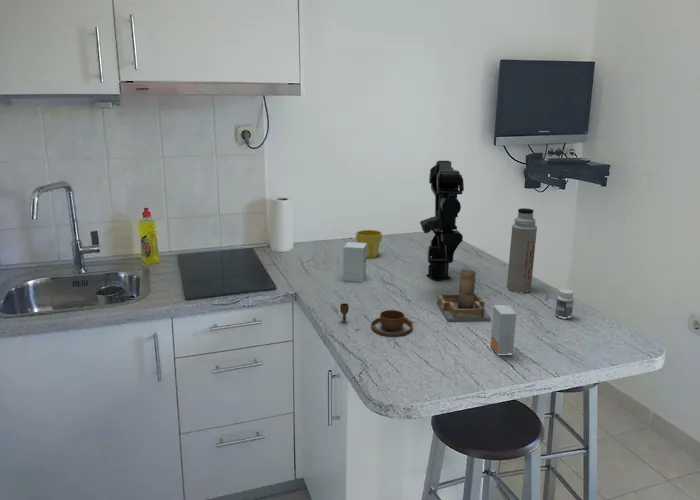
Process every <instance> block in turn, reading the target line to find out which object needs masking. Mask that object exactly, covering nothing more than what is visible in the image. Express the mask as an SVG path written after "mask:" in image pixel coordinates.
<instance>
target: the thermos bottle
mask: <svg viewBox="0 0 700 500" xmlns="http://www.w3.org/2000/svg"><path fill="white" fill-rule="evenodd" d="M517 212H518V213H517V217H515V218H514V221H513V222H514V223H513V224H512V225H511V233H510V234H511V237H510V247H509V259H508V270H507V278H506V279H507V281H506V289H507V288H508V289H509V290H508V289H507V290H508V291H510V290H511V291H510V292H512V291H516V292H515V293H517V292H526V291H529V290H532V282H533V281H532V280H533V271H534V262H535V253H536V241H537V233H538V232H537V230H538V226H536V219H534V209H531V208H523V207H522V208H518V210H517Z"/></svg>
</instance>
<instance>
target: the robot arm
mask: <svg viewBox="0 0 700 500" xmlns="http://www.w3.org/2000/svg"><path fill="white" fill-rule="evenodd" d="M429 170H430V171H429V174H428V175H429V178H428V180H429V181H428V182H429V184H430V189H431V191H432V193H433V195H434V197H435V198H434V216H431V217H428V218H426V219H423V220H421V221H419V224H420V227H421V230H422V232H423V233H424V234H428V233H430V232H433V233H434V236H433V238H432V239H431V241H430V243H429V244H430V245H428V248H427V249H428V250H427V258H426V259H427V263H428V272H427V274H426V277H428V278H430V279H431V280H434V281H443V280H448V279H449V280H450V279H451V278H452V277H451V276H449V265H450V264H452V263H453V262H454V255H455V252H456V250H457V248H458V247H459V245H460V244H461V243H462V242H463V239H464V238H463V237H464V236H463V234H462V233H461V232H460V231H459V230H458V226H457V225H456V223H457V222H456V220H457V218H458V217H459V216H458V215H459V213H460V212H461V209H462V205H461V202H460V201H459V199H458V195H463V192H464V190H465V187H464V178H463V175H462V174H460V173H461V172H460V171H459V170H456V169H454V168H453V167H452V161H450V160H437V161H436V162H435V165H434V166H432V167H431V168H430V169H429Z"/></svg>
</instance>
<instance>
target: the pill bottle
mask: <svg viewBox="0 0 700 500" xmlns="http://www.w3.org/2000/svg"><path fill="white" fill-rule="evenodd" d="M573 296H574V291H573V290H572V289H568V288H561V289H559V290H558V296H557V298H556V306H555V312H554V315H555V314H556V315H558V316H562V317H568V316H571V315H573V309H574V308H573V307H574V300H575V299H574V297H573Z"/></svg>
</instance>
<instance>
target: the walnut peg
mask: <svg viewBox="0 0 700 500" xmlns="http://www.w3.org/2000/svg"><path fill="white" fill-rule="evenodd" d="M476 273H477V272H476V271H475V270H473V269H468V268H467V269H466V268H465V269H460V271H459V285H458V294H459V299H458V309H470V308H473V302H474V294H475V290H476V289H475V287H476Z"/></svg>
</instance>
